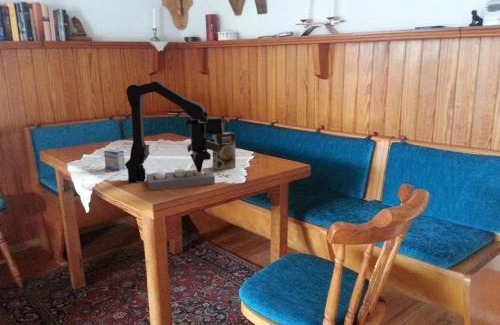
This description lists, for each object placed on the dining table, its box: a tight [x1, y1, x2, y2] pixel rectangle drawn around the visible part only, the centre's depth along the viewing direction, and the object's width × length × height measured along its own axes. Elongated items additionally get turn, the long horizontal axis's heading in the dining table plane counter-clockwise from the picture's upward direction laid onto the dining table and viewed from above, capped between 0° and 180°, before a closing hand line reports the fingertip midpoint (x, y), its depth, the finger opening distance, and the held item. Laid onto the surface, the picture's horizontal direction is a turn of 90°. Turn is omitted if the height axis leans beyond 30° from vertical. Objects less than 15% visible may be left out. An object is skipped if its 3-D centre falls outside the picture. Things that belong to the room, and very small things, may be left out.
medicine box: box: [103, 149, 126, 172], centre depth 195 cm, size 8×4×9 cm, turn 68°
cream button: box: [154, 170, 166, 180], centre depth 172 cm, size 4×4×3 cm
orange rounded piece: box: [195, 171, 204, 176], centre depth 177 cm, size 4×4×3 cm
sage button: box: [174, 169, 186, 178], centre depth 174 cm, size 4×4×3 cm
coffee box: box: [211, 131, 236, 171], centre depth 196 cm, size 9×6×16 cm
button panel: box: [145, 168, 216, 191], centre depth 175 cm, size 26×12×3 cm, turn 108°
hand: (199, 171), depth 177 cm, fingers closed, pressing on orange rounded piece
